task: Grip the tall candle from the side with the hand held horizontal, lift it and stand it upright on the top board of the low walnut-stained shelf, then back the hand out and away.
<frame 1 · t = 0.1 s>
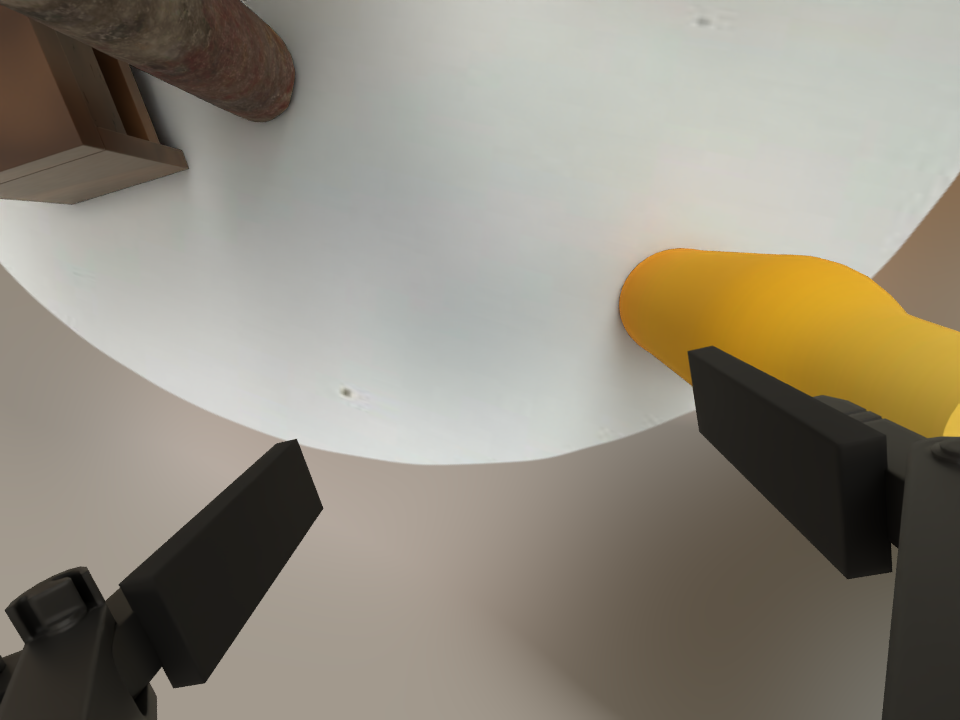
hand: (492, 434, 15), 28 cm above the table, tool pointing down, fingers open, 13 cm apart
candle: (256, 74, 38), on the table
beer bottle: (667, 300, 41), on the table
shelf: (84, 78, 39), on the table
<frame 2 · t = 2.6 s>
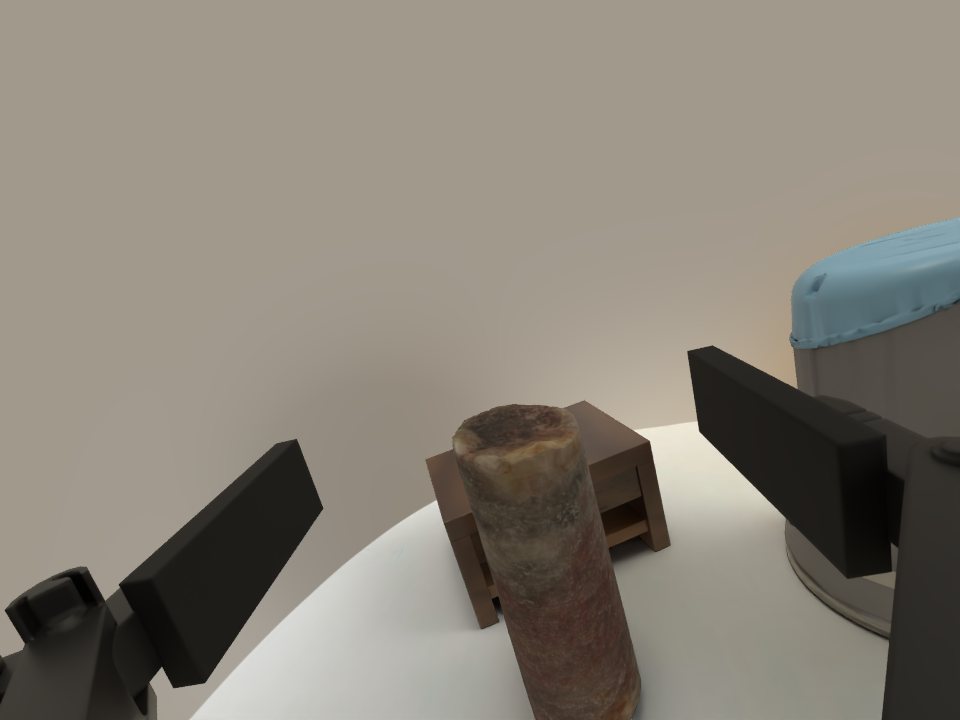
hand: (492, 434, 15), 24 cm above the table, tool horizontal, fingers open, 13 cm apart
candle: (587, 695, 30), on the table
shelf: (552, 545, 45), on the table
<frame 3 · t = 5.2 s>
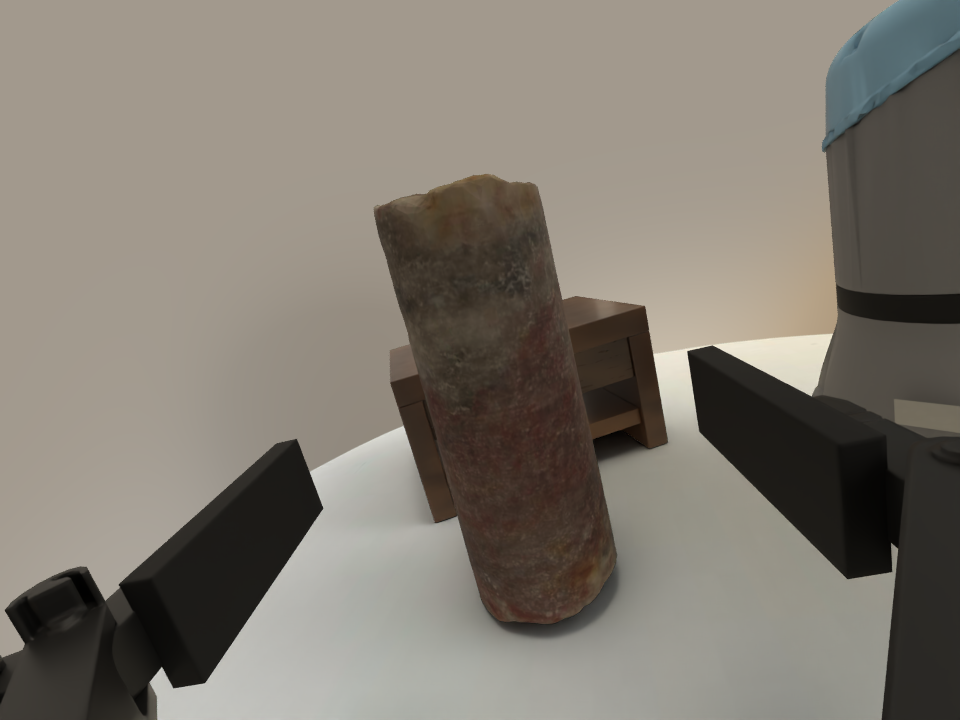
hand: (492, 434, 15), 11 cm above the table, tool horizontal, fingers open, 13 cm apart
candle: (550, 579, 24), on the table
shelf: (530, 449, 38), on the table
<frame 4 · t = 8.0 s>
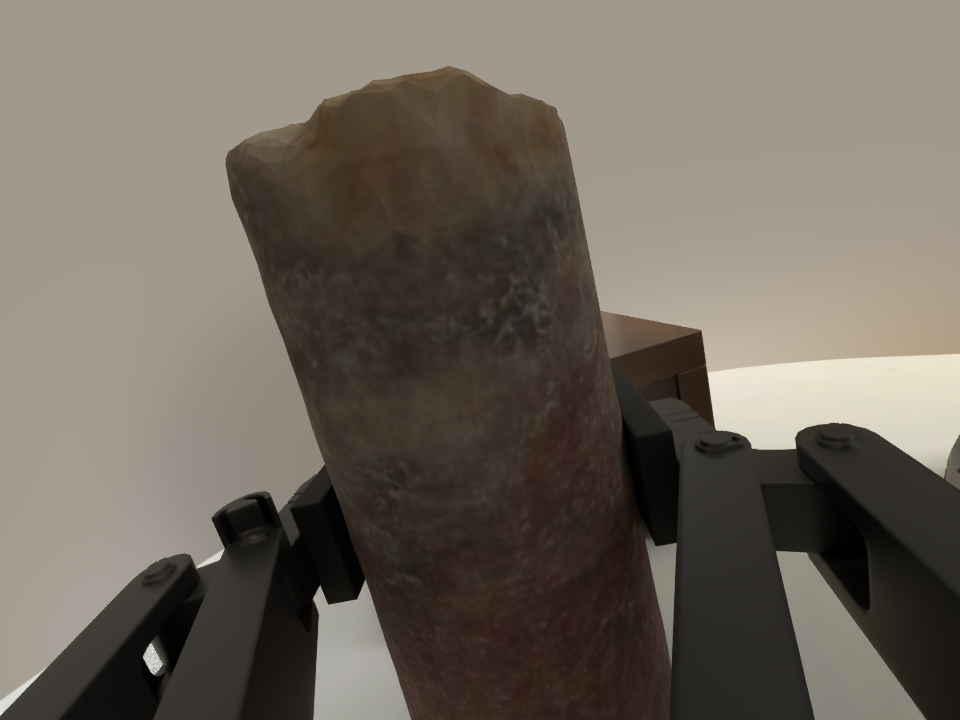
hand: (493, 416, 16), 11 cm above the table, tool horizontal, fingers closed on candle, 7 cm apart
shelf: (535, 516, 29), on the table
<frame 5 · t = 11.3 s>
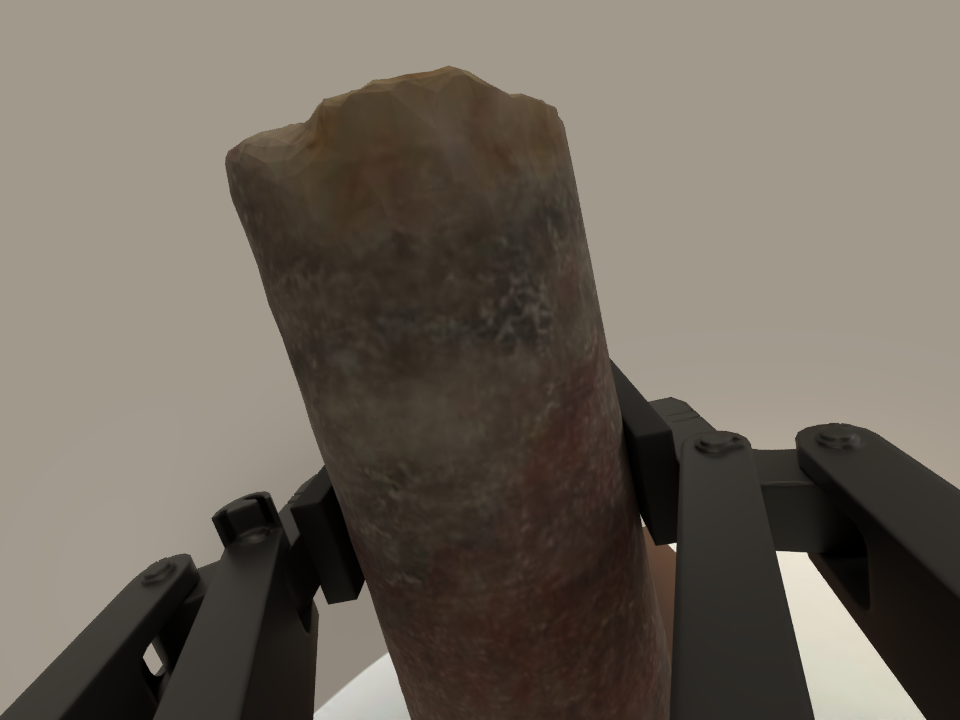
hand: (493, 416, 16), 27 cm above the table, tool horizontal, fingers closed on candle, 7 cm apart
when the fingers open (21 cm above the table, at t = 15.0 s): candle stays where it is, resting on shelf.
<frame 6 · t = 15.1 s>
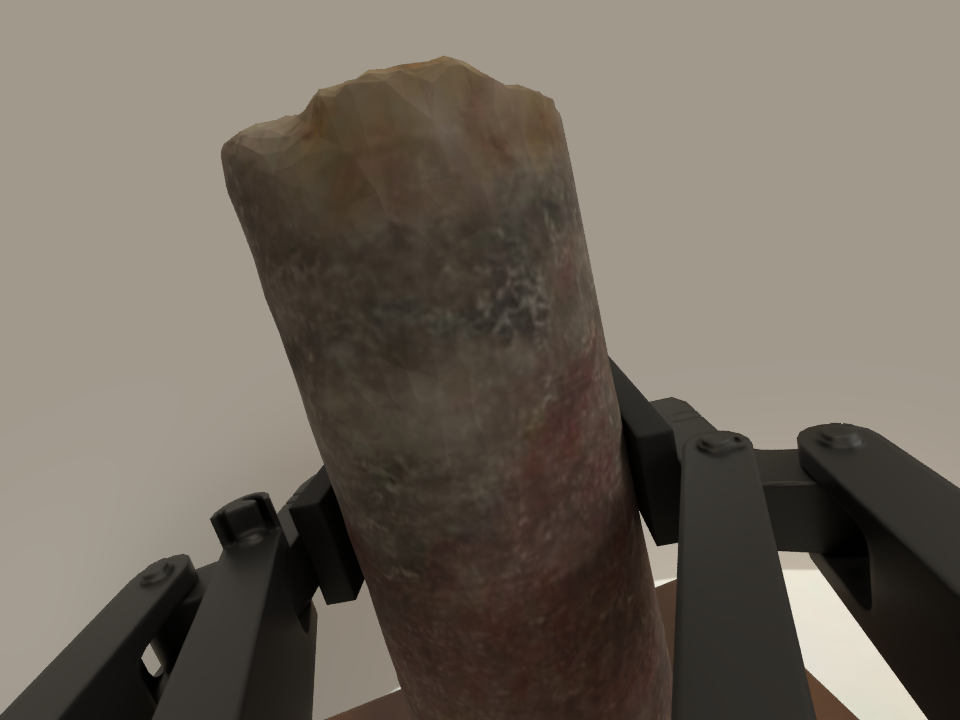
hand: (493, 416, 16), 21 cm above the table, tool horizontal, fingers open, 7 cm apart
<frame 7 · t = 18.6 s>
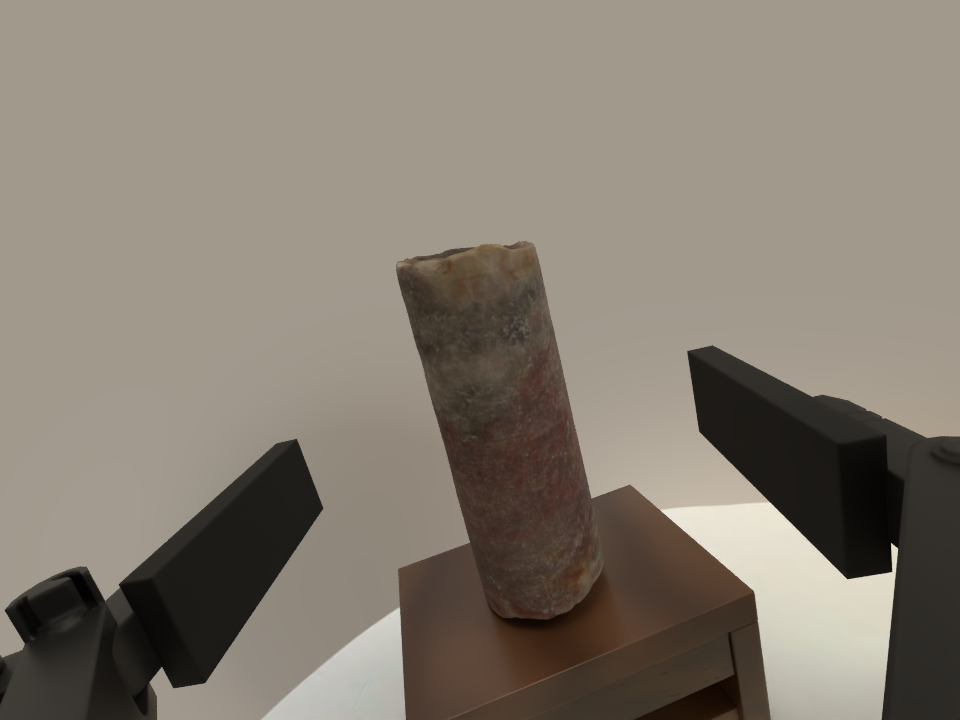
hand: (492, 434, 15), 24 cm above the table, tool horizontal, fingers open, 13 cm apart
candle: (546, 581, 27), point 10 cm above the table, touching shelf
shelf: (581, 711, 30), on the table
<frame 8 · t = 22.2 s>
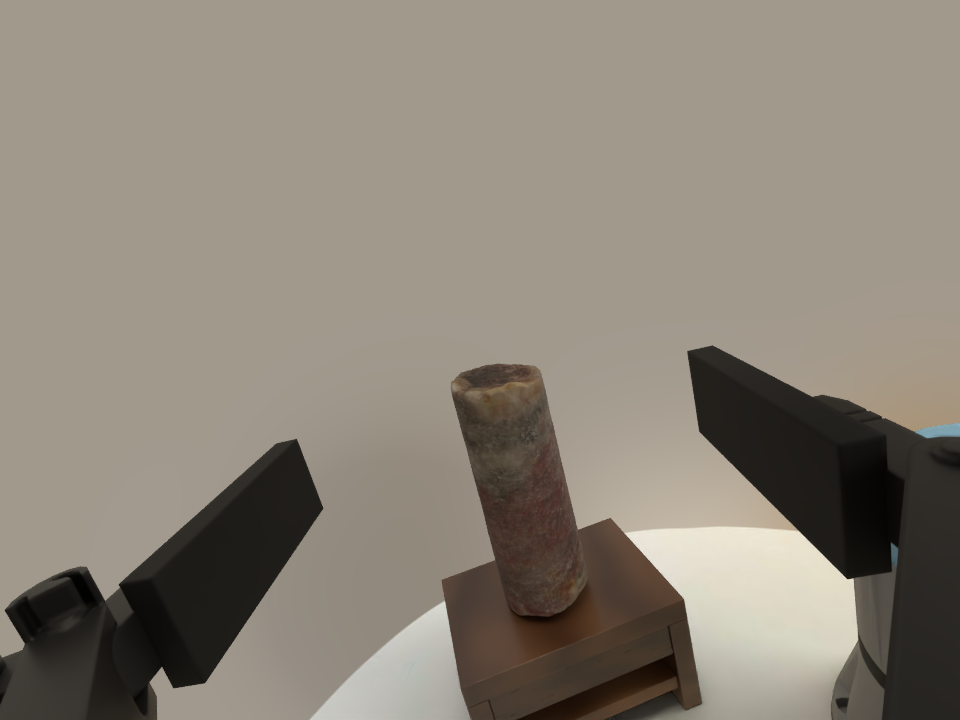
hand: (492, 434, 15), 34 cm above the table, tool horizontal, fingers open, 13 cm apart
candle: (548, 590, 40), point 10 cm above the table, touching shelf
shelf: (573, 681, 42), on the table
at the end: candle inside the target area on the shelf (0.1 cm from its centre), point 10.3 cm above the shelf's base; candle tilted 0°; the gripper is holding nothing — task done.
